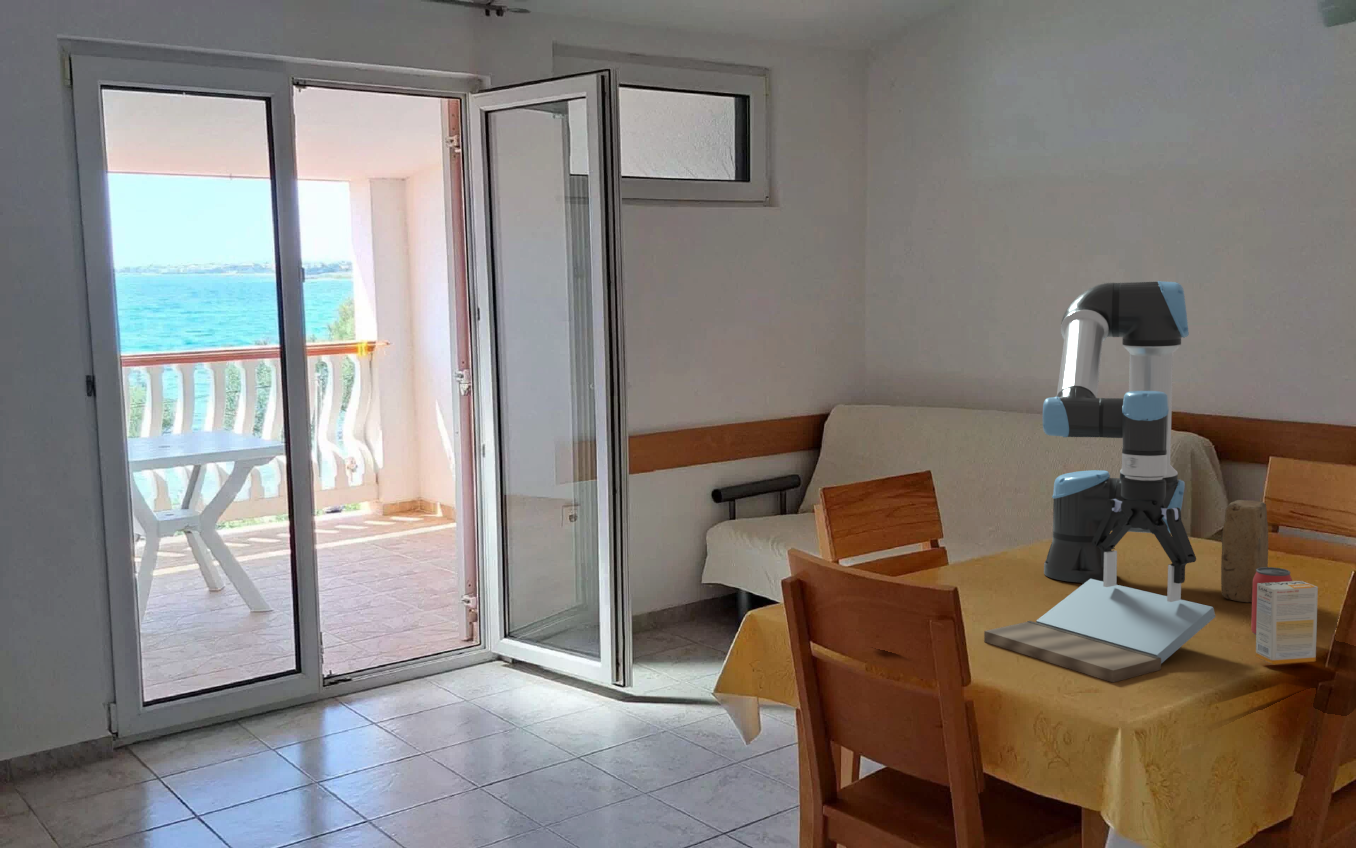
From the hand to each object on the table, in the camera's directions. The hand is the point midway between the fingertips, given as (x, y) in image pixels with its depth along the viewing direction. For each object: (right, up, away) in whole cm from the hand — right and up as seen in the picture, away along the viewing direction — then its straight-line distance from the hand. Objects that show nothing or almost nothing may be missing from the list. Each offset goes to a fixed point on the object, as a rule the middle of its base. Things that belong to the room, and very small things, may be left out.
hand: (1141, 593), depth 212 cm
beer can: (+24, -8, +1) cm, 26 cm away
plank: (-4, -5, -2) cm, 7 cm away
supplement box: (+19, -10, -13) cm, 25 cm away
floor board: (-16, -10, -9) cm, 21 cm away
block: (+33, -5, +28) cm, 44 cm away
